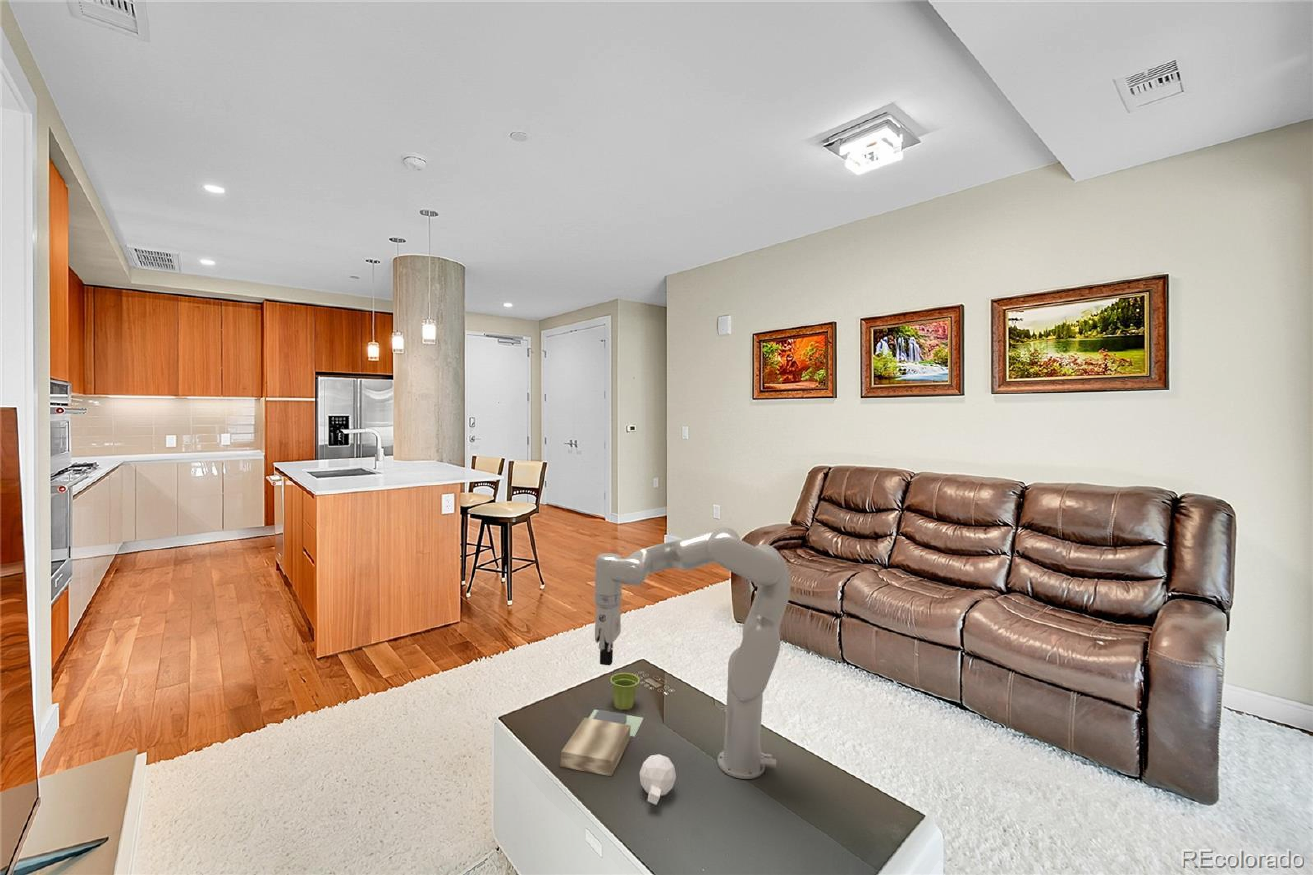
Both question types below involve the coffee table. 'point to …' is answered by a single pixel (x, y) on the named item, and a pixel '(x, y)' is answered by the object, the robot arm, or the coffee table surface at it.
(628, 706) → the plant pot
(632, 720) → the mat
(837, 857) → the coffee table surface
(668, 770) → the perfume bottle
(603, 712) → the grey rectangular block
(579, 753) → the light wood flat block
